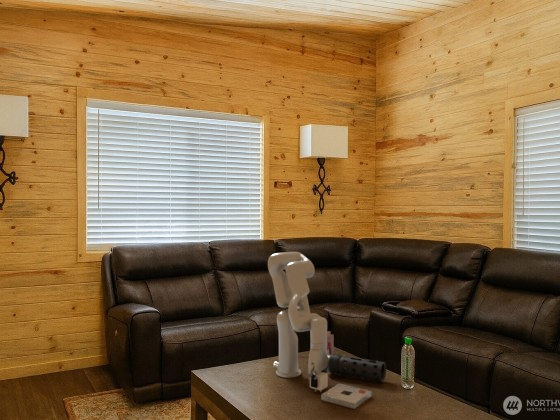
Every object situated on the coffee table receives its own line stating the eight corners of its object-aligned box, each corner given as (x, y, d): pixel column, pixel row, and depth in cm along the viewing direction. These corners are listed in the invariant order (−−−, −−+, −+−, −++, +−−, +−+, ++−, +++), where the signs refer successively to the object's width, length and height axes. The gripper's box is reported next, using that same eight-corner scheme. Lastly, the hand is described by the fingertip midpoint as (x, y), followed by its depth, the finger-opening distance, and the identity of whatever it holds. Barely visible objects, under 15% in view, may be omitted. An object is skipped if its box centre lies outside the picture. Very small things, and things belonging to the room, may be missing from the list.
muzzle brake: (380, 387, 230) (380, 365, 230) (324, 376, 244) (324, 355, 243) (386, 380, 239) (386, 359, 238) (331, 370, 252) (331, 350, 252)
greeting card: (311, 362, 265) (311, 334, 264) (313, 357, 272) (313, 330, 272) (333, 363, 263) (333, 335, 263) (334, 358, 270) (334, 331, 270)
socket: (321, 400, 215) (321, 393, 215) (339, 388, 228) (339, 382, 228) (354, 409, 206) (354, 402, 206) (371, 396, 219) (371, 389, 219)
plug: (306, 390, 226) (306, 373, 225) (312, 387, 230) (312, 369, 230) (321, 394, 221) (321, 376, 221) (327, 390, 226) (327, 373, 225)
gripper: (321, 339, 234) (321, 377, 234) (301, 348, 220) (301, 388, 220) (335, 342, 229) (335, 380, 230) (315, 351, 215) (315, 392, 216)
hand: (318, 384), depth 225 cm, fingers open, 7 cm apart
